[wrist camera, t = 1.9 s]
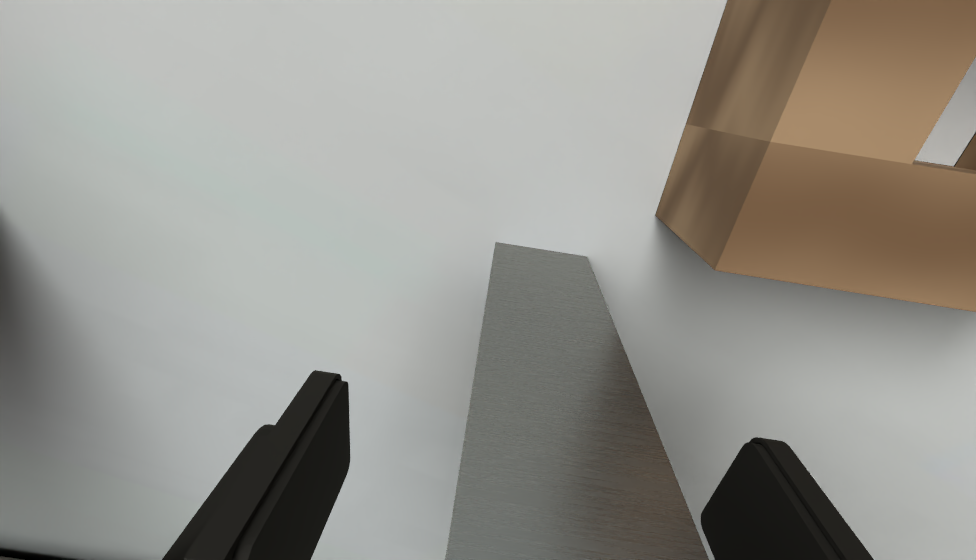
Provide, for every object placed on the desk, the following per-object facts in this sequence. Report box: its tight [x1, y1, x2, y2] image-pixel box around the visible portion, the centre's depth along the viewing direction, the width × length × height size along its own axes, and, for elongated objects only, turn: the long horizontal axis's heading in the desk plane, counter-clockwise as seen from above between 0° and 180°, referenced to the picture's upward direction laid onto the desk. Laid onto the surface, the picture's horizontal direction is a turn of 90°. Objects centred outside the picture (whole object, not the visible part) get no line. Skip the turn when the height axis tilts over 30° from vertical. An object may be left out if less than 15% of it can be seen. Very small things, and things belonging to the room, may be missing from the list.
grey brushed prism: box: [445, 242, 709, 560], centre depth 12 cm, size 4×4×13 cm
